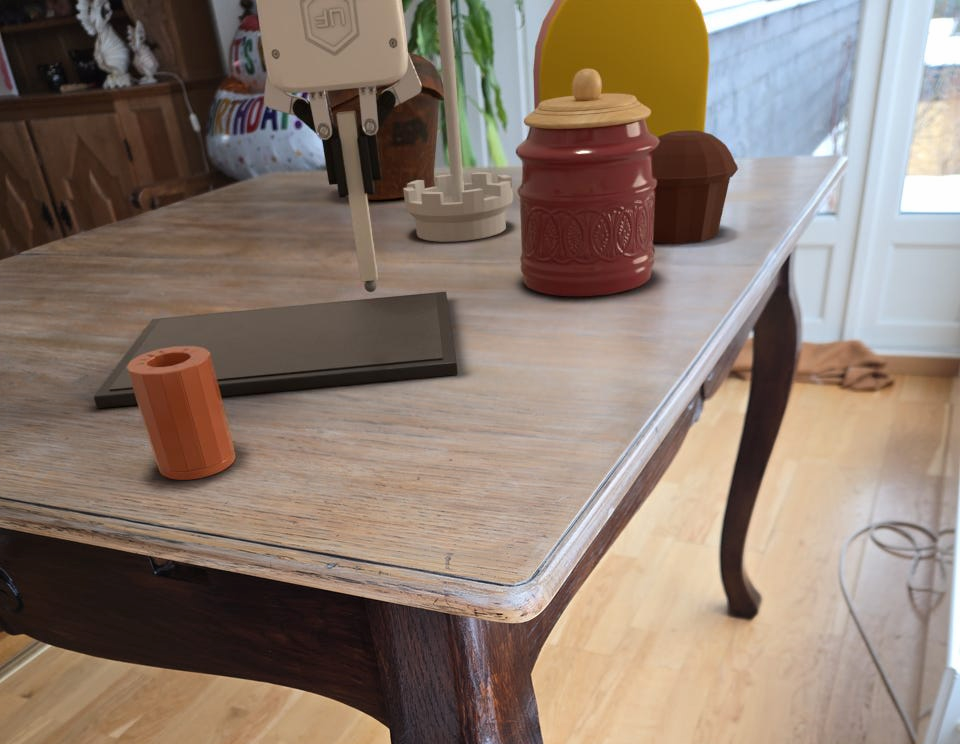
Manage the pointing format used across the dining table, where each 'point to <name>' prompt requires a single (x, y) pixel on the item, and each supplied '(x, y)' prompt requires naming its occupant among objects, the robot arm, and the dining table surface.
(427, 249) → the dining table surface
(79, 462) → the dining table surface
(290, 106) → the robot arm
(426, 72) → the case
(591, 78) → the kitchen canister
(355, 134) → the stylus
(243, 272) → the dining table surface
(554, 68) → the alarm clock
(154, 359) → the pen pot
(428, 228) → the flag stand
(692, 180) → the muffin
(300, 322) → the tablet
